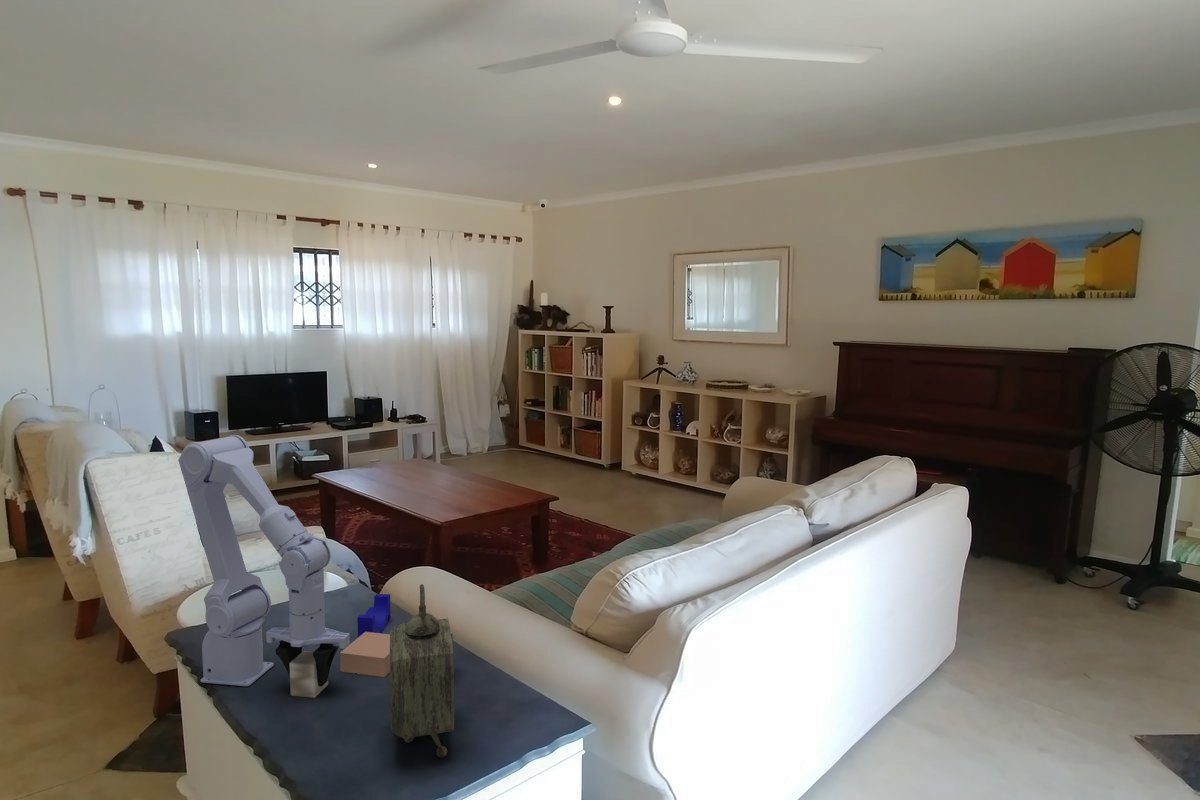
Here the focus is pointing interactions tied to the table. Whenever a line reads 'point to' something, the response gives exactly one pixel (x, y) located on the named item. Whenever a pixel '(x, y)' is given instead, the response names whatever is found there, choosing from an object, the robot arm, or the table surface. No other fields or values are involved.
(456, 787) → the table surface
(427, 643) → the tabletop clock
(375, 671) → the terracotta block
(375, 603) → the blue stepped block
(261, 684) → the table surface
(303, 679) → the ivory block
